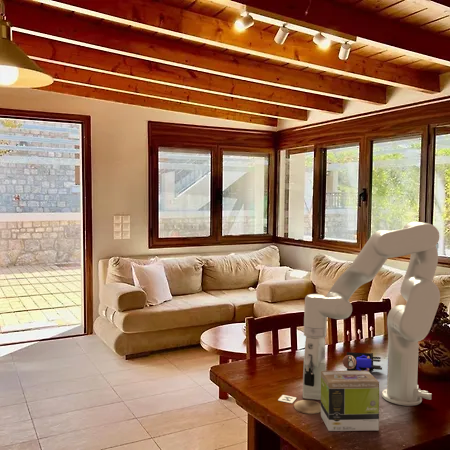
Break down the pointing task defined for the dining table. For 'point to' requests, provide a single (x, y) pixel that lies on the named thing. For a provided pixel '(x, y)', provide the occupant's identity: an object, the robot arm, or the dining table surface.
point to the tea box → (350, 400)
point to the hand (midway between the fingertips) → (313, 380)
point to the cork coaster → (307, 406)
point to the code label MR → (287, 399)
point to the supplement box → (314, 391)
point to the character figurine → (361, 361)
